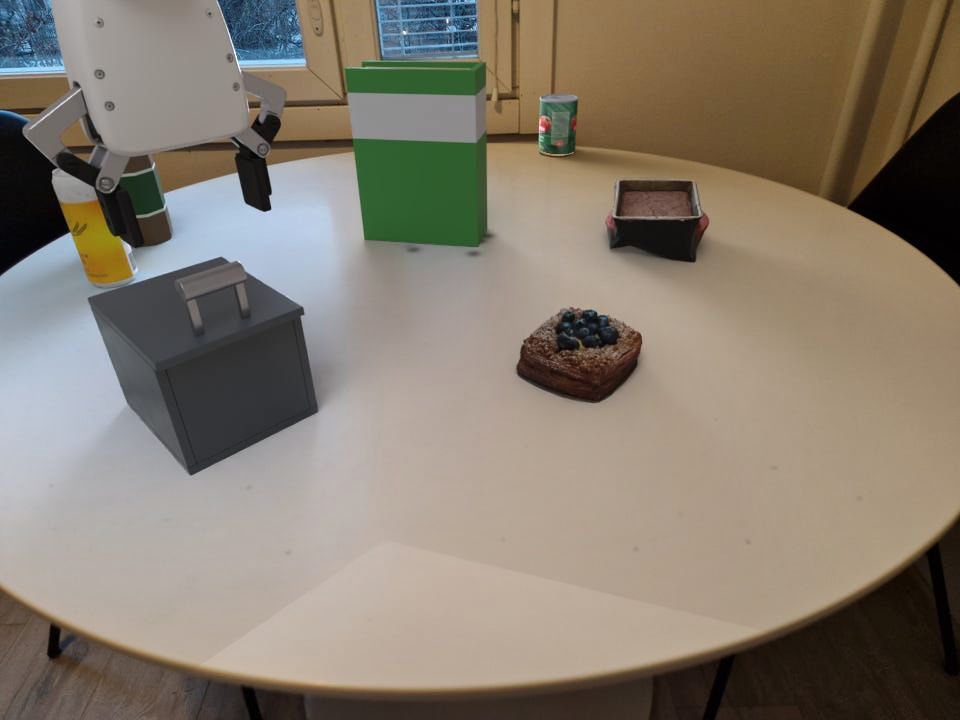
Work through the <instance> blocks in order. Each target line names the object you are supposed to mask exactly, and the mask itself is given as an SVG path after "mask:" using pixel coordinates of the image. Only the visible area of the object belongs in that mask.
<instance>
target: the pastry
mask: <svg viewBox="0 0 960 720" xmlns="http://www.w3.org/2000/svg"><path fill="white" fill-rule="evenodd" d="M522 342H523V344H521V347H520V351H519V359H518V362H517V364H516V367H515V371H516V374H517V376H518V377H520V378H521V379H523V380H525V381H526V382H528V383H530V384H532V385H534V386H536V387H537V388H540V389H542V390H545V391H547V392H550V393H552V394H554V395H557V396H560V397H563V398H566V399H570V400H575V401H579V402H588V403H595V404H596V403H599V402H601V401H603V400H605V399H607V398H608V397H610V396H611V395H612V394H613V393H615V391H617V390H618V389H619V388H620V387H621V386H622V385H623V384H624V383H625V382H626V381H627V380H628V379H629V378H630V377H631V375H632V374H633V373H634V371H635V370H636V368H637V366H638V358H639V357H640V354H641V351H642V346H643V336H642V334H641V332H639V331H637V330H635V329H634V328H632V327H631V325H627V324H626V323H625V321H624V320H623V321H622V320H619V319H617V318H616V317H611V316H610V314H607V315H606V314H599V315H598V312H597V311H596V310H594V309H591V308H589V309H581V308H580V307H577V308H575V307H573V306H569V307H568V308H564V307H562V308H560V310H559V312H557V313H556V314H555V315H551V317H549V319H547V320H546V321H545V322H543V323H542V324H541V325H540V326H538V327H537V328H536V329H535V330H534V331H533V332H532V333H530V335H529V336H528V337H526V338H525V339H523V340H522Z"/></svg>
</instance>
